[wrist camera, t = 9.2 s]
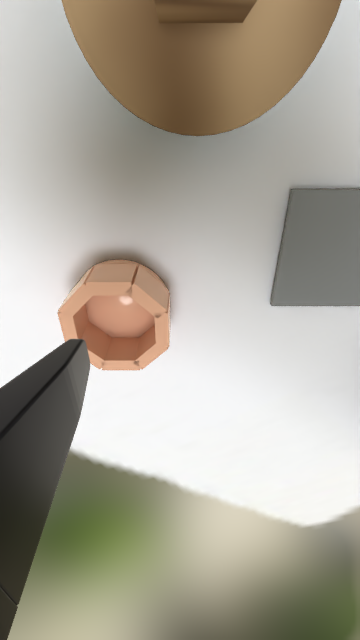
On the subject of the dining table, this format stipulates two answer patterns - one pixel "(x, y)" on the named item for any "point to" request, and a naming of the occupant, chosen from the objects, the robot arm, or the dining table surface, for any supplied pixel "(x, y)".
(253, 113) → the lid
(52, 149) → the dining table surface
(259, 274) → the dining table surface
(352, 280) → the mat
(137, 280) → the small bowl
